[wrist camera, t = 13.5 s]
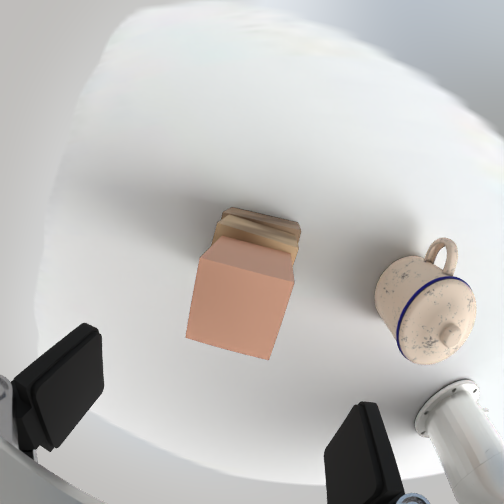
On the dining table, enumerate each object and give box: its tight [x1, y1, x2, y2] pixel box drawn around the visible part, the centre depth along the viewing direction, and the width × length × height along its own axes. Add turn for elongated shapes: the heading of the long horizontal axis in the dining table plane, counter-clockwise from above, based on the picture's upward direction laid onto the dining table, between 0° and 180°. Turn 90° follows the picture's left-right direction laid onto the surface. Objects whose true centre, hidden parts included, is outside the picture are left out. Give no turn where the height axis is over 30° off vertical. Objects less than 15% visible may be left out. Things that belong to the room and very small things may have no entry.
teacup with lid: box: [375, 238, 476, 365], centre depth 24 cm, size 12×9×12 cm
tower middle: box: [211, 214, 299, 266], centre depth 24 cm, size 6×6×5 cm
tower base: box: [221, 207, 301, 243], centre depth 29 cm, size 7×7×5 cm
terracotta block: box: [185, 236, 294, 360], centre depth 18 cm, size 5×5×6 cm
